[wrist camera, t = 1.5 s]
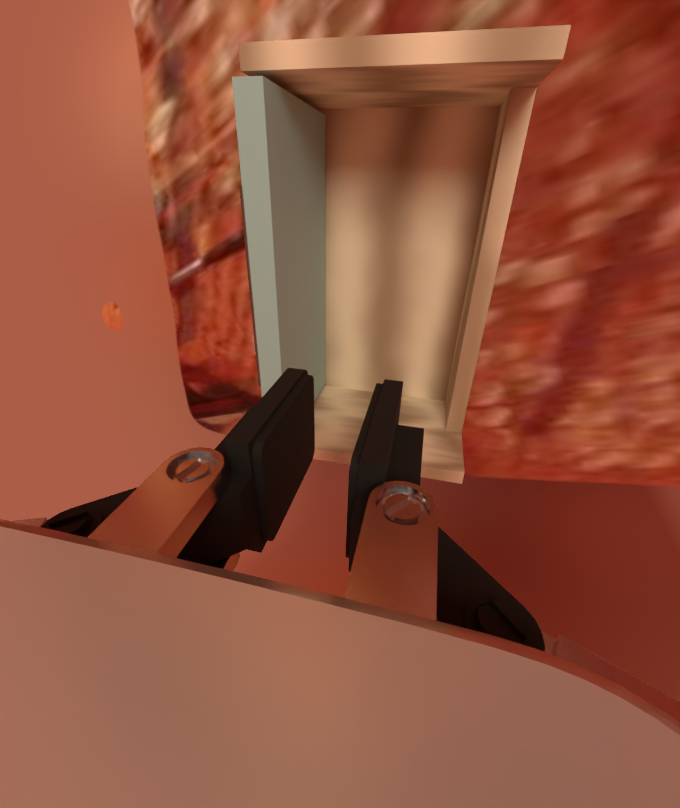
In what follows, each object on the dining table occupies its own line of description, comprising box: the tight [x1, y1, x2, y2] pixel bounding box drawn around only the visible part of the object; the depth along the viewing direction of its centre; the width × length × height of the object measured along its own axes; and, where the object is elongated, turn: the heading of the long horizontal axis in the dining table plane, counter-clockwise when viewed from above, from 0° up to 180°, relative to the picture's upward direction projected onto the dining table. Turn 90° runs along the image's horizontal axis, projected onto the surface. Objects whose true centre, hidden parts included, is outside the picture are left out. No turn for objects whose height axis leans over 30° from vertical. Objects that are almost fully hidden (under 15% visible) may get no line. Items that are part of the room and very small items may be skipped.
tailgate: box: [232, 76, 325, 401], centre depth 27 cm, size 2×21×11 cm, turn 179°
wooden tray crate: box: [238, 25, 571, 484], centre depth 27 cm, size 14×23×13 cm, turn 179°
